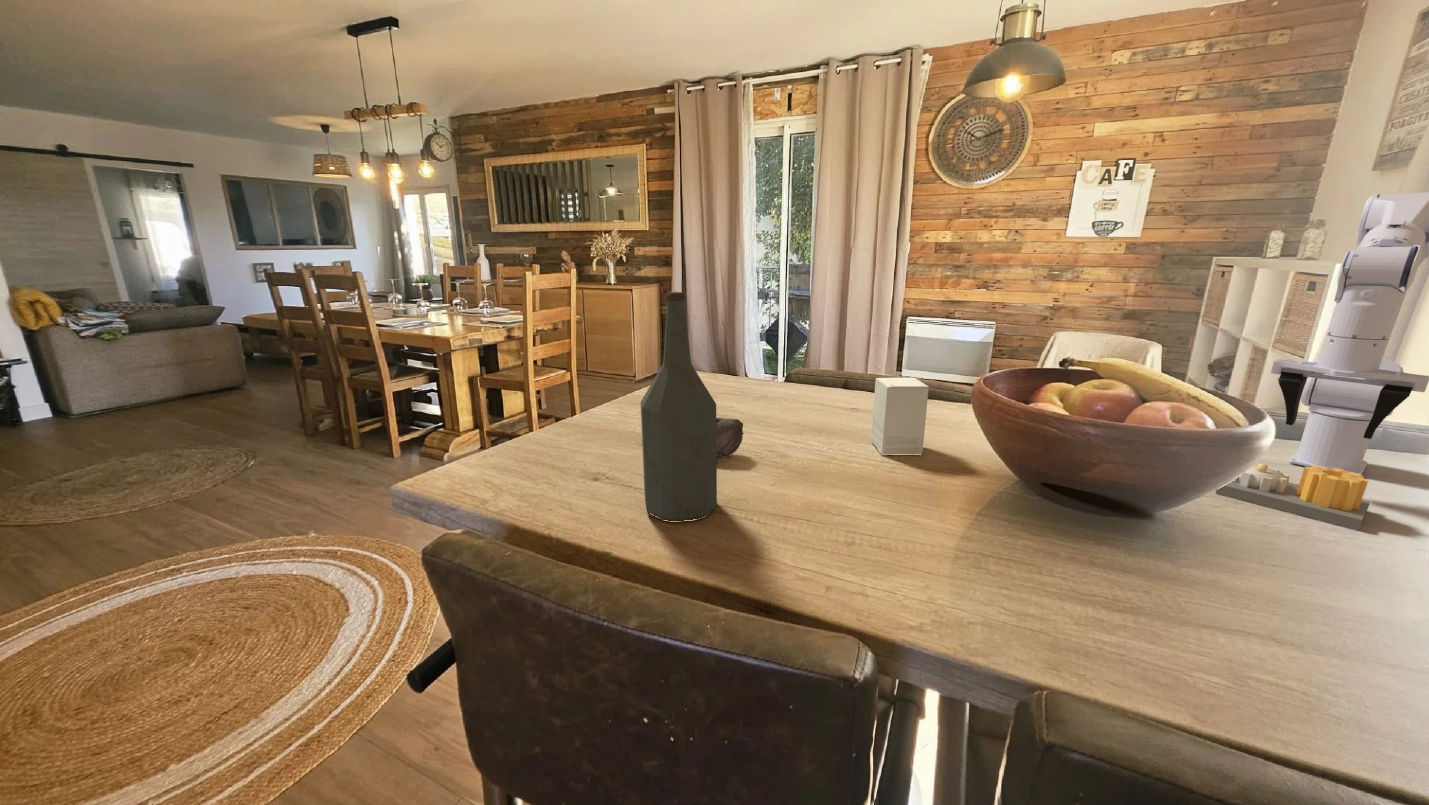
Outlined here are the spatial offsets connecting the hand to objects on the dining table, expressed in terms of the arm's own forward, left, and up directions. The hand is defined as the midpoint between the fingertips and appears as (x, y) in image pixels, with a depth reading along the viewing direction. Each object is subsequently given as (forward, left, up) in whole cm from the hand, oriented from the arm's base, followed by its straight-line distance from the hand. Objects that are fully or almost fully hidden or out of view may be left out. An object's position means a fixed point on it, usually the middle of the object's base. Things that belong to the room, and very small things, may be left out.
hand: (1327, 430), depth 79 cm
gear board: (+8, -1, -9) cm, 12 cm away
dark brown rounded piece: (+64, -67, -10) cm, 93 cm away
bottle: (+78, -52, -10) cm, 94 cm away
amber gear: (+8, +2, -8) cm, 11 cm away
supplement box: (+34, -48, -10) cm, 60 cm away
